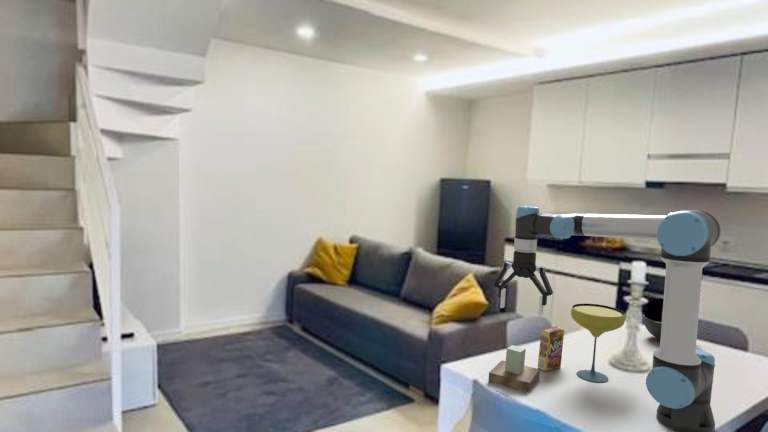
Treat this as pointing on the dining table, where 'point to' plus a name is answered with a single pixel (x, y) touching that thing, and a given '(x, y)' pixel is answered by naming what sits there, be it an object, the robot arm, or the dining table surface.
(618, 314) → the cocktail glass
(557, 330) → the candy box
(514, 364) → the sage block
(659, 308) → the coal bowl
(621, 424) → the dining table surface
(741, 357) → the dining table surface
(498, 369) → the walnut plinth
